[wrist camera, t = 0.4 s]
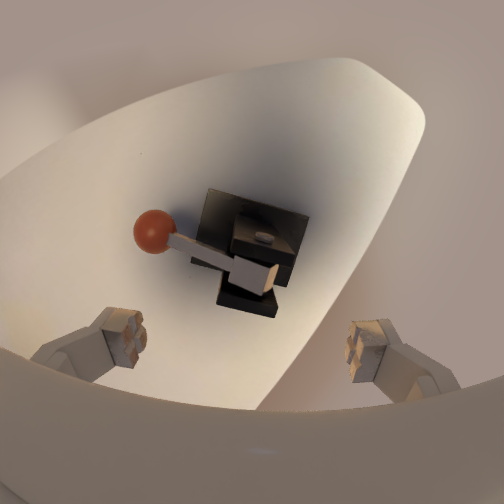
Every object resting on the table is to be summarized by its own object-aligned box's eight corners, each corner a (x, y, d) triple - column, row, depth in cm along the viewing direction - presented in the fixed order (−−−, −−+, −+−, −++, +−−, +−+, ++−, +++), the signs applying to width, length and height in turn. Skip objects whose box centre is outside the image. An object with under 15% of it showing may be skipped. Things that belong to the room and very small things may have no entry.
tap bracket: (191, 260, 34) (160, 314, 20) (209, 188, 32) (185, 194, 18) (285, 284, 35) (312, 349, 21) (307, 215, 33) (354, 242, 19)
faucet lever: (150, 243, 27) (121, 247, 24) (157, 205, 26) (129, 204, 23) (271, 296, 23) (253, 311, 19) (286, 250, 22) (270, 257, 18)
